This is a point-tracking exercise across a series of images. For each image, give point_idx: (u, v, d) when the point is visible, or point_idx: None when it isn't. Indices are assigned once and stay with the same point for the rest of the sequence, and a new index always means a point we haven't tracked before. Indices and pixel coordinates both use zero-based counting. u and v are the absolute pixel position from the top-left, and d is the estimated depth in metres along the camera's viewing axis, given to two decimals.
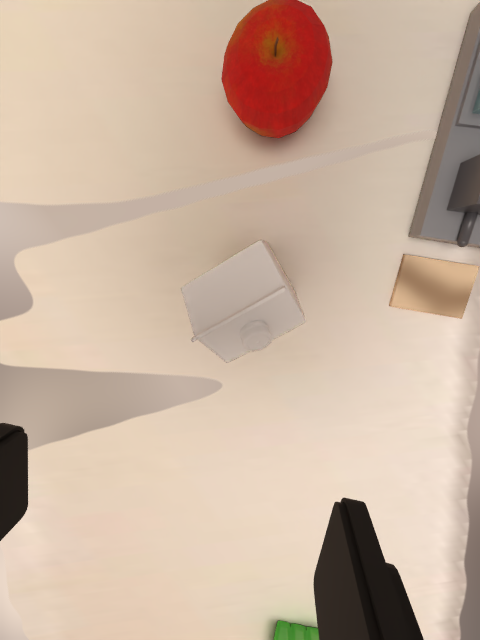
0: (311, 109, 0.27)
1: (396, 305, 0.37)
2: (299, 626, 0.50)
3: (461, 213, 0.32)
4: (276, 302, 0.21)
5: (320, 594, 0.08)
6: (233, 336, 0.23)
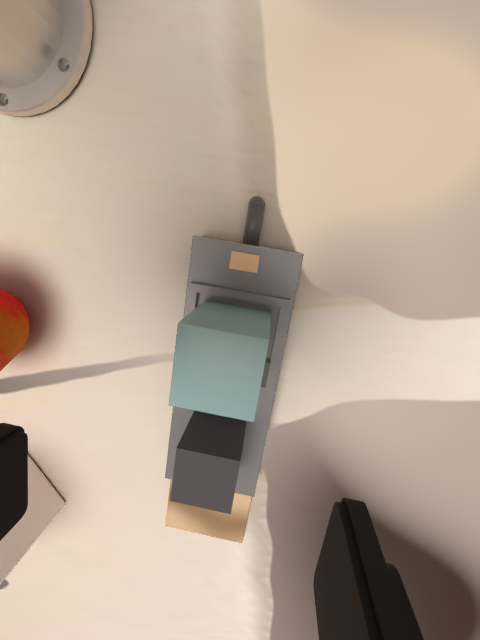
0: None
1: (171, 525, 0.32)
2: None
3: None
4: None
5: (320, 594, 0.08)
6: None
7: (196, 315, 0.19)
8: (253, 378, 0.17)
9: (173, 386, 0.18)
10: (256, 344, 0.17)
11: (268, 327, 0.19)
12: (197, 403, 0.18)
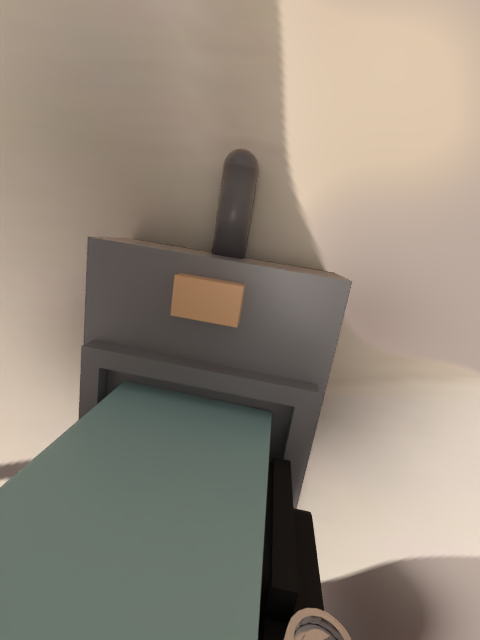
0: None
1: None
2: None
3: None
4: None
5: None
6: None
7: (28, 490, 0.06)
8: None
9: None
10: None
11: (258, 536, 0.06)
12: None
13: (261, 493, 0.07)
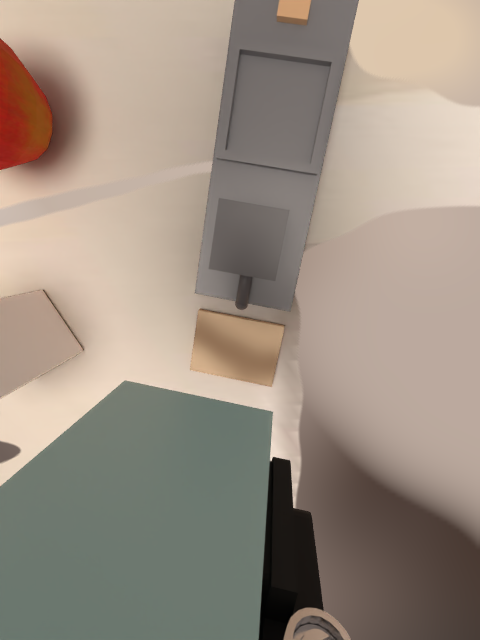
0: None
1: (196, 368, 0.31)
2: None
3: None
4: None
5: None
6: None
7: (27, 490, 0.06)
8: None
9: None
10: None
11: (259, 537, 0.06)
12: None
13: (262, 494, 0.07)
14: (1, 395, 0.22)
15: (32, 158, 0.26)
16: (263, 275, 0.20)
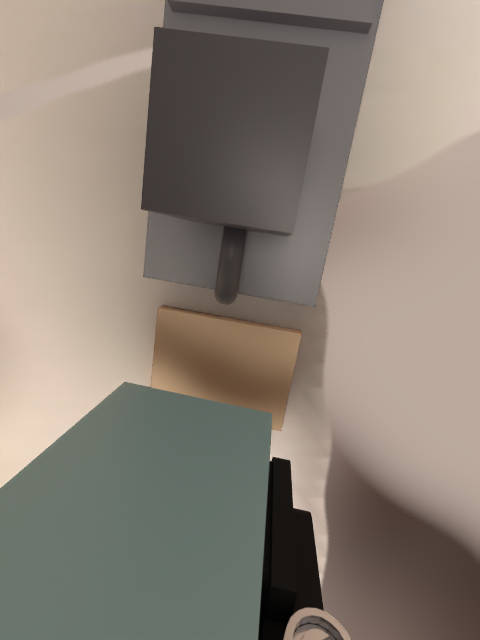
0: None
1: None
2: None
3: (220, 228, 0.14)
4: None
5: None
6: None
7: (26, 493, 0.06)
8: None
9: None
10: None
11: (258, 540, 0.06)
12: None
13: (261, 496, 0.07)
14: None
15: None
16: (265, 220, 0.09)
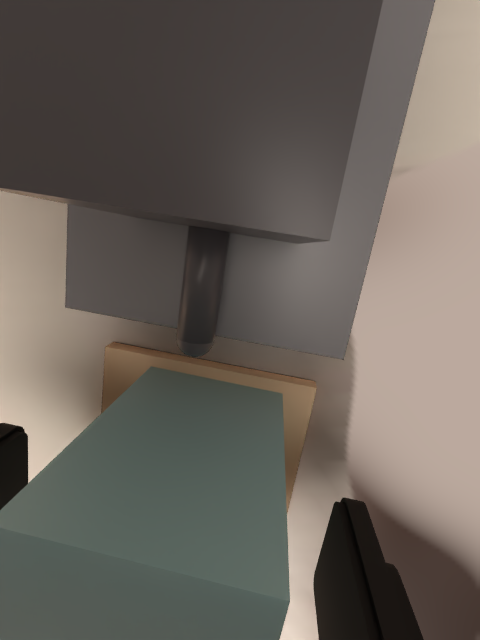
0: None
1: None
2: None
3: (186, 229, 0.08)
4: None
5: (320, 594, 0.08)
6: None
7: (91, 447, 0.07)
8: None
9: None
10: (243, 609, 0.05)
11: (281, 483, 0.07)
12: None
13: (280, 454, 0.08)
14: None
15: None
16: (254, 204, 0.03)
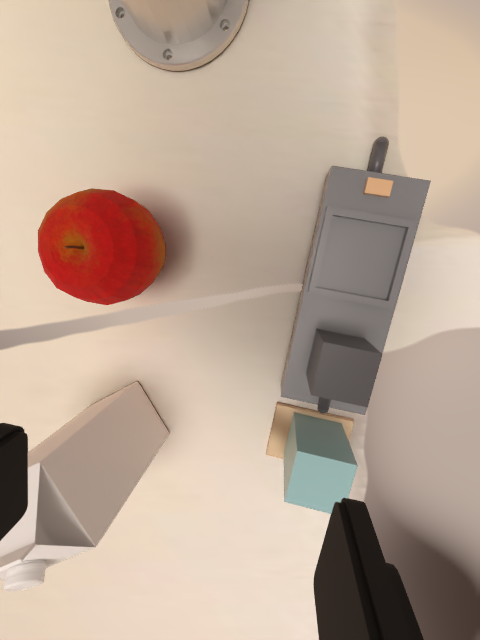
0: (137, 289, 0.26)
1: (271, 454, 0.34)
2: None
3: None
4: (35, 551, 0.19)
5: (320, 594, 0.08)
6: (4, 571, 0.21)
7: (301, 437, 0.29)
8: (344, 488, 0.27)
9: (289, 489, 0.27)
10: (348, 467, 0.26)
11: (350, 448, 0.28)
12: (304, 502, 0.27)
13: (347, 441, 0.29)
14: (128, 494, 0.26)
15: None
16: (357, 402, 0.25)
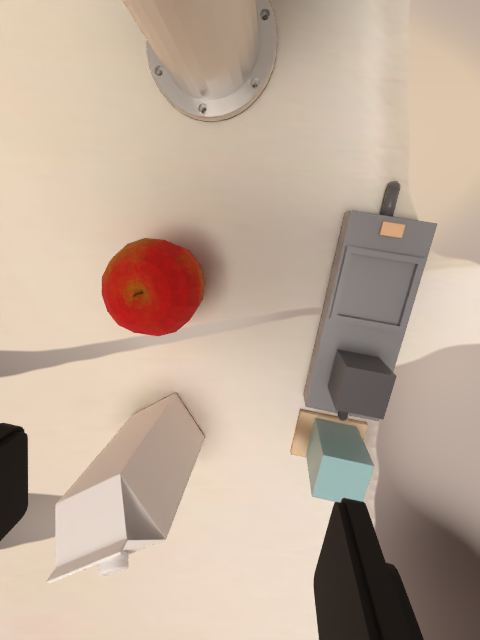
0: (185, 322, 0.30)
1: (295, 453, 0.40)
2: None
3: None
4: (124, 544, 0.24)
5: (320, 594, 0.08)
6: None
7: (324, 442, 0.33)
8: (363, 484, 0.32)
9: (316, 486, 0.32)
10: (366, 468, 0.31)
11: (366, 450, 0.33)
12: (328, 496, 0.32)
13: (363, 444, 0.34)
14: (182, 494, 0.31)
15: None
16: (375, 415, 0.29)
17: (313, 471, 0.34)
